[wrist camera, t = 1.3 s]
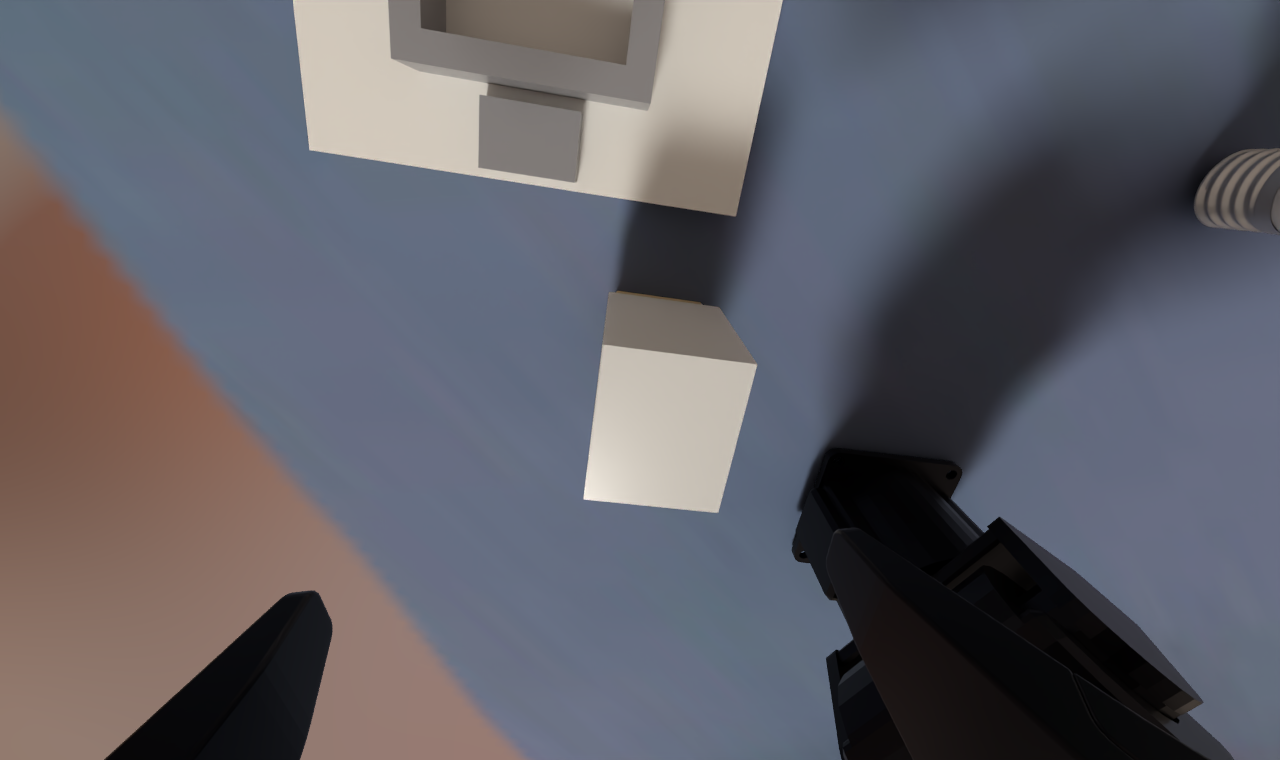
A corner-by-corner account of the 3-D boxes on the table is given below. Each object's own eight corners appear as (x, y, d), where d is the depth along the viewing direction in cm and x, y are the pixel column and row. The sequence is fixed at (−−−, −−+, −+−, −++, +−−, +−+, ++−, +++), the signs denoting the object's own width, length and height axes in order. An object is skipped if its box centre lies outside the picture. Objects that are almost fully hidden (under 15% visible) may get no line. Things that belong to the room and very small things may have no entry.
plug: (710, 293, 19) (757, 364, 13) (687, 400, 21) (717, 513, 14) (610, 279, 19) (602, 344, 12) (596, 389, 21) (583, 499, 14)
